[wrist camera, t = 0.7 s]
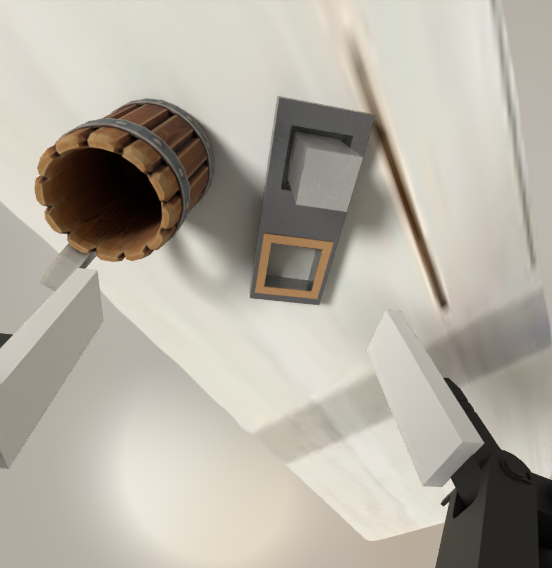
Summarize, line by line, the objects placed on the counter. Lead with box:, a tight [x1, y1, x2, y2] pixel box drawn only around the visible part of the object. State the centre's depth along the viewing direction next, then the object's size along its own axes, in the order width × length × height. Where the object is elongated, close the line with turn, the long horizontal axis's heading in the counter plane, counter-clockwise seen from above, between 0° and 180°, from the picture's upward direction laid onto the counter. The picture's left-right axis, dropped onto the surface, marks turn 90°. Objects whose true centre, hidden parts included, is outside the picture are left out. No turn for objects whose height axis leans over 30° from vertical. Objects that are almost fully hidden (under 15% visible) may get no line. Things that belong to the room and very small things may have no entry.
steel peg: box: [287, 132, 363, 212], centre depth 29 cm, size 4×4×9 cm
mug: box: [35, 98, 214, 291], centre depth 27 cm, size 16×11×15 cm
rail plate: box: [250, 96, 375, 305], centre depth 35 cm, size 22×9×3 cm, turn 171°
